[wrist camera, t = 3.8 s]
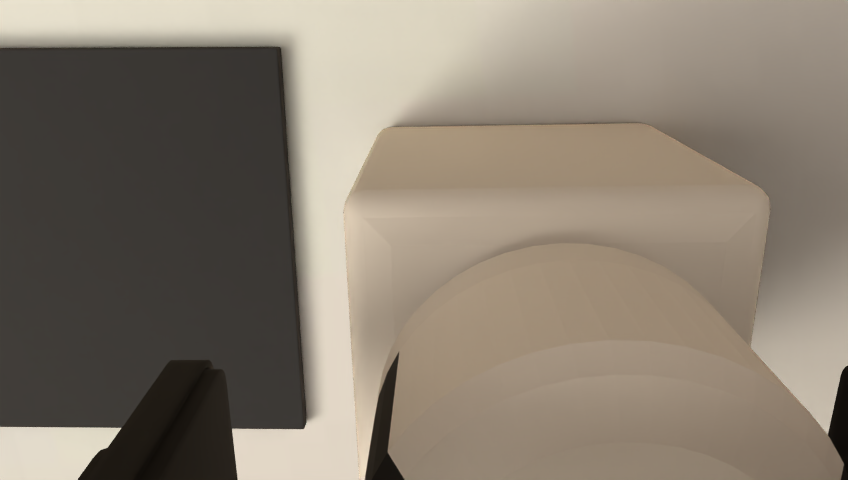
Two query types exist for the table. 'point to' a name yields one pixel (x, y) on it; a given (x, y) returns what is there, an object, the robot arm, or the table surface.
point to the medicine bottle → (563, 311)
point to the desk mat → (145, 232)
